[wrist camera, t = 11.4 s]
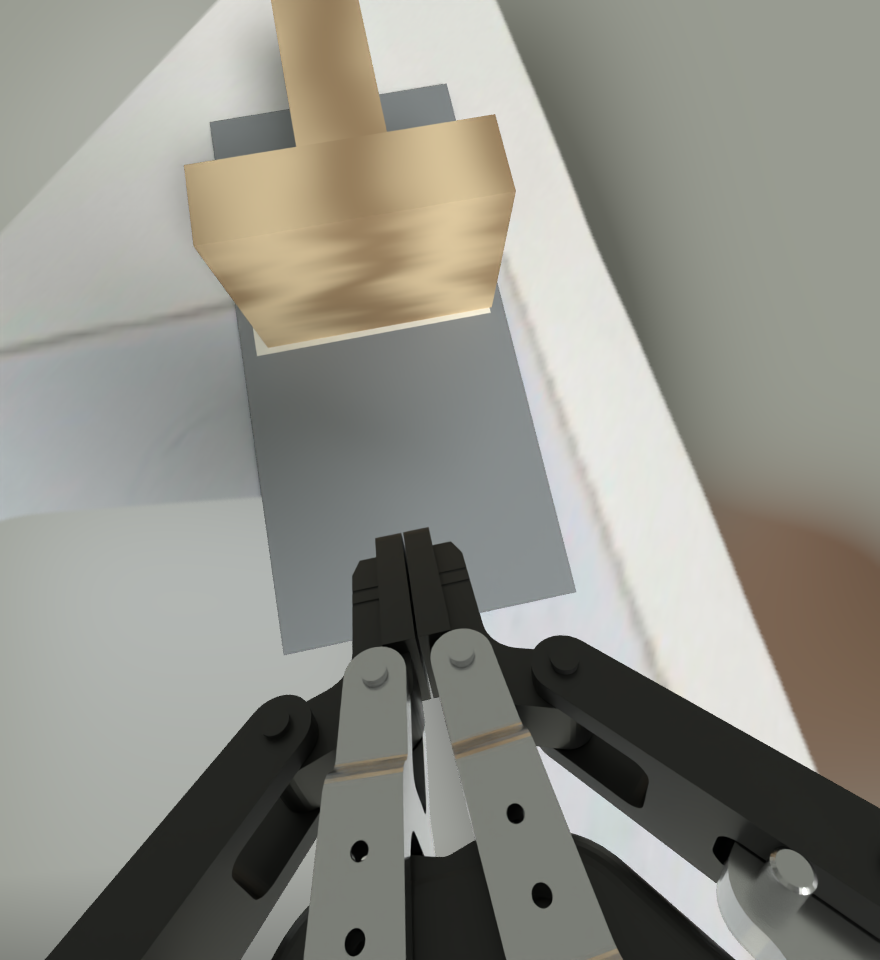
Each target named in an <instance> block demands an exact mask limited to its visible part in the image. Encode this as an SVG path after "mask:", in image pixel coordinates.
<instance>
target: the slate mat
mask: <svg viewBox="0 0 880 960" xmlns="http://www.w3.org/2000/svg"><path fill="white" fill-rule="evenodd" d="M379 97H380V102H381V106H382V111H383V116H384V120H385V125H386V130H387V132H390V131H396V130H402V129H408V128H414V127H421V126H427V125H433V124H439V123H445V122H451V121H456V119H455V115H454V111H453V107H452V103H451V99H450V95H449V91H448V88H447V84H441V85H435V86H429V87H423V88H417V89H410V90H404V91H398V92H392V93H386V94H380V95H379ZM210 127H211V134H212V141H213V148H214V156H215V160H219V159H225V158H231V157H237V156H243V155H249V154H255V153H261V152H268V151H274V150H280V149H286V148H292V147H296V142H295V136H294V131H293V125H292V119H291V113H290V109H288V110H282V111H276V112H269V113H263V114H257V115H251V116H245V117H239V118H233V119H226V120H220V121H214V122H210ZM235 307H236V314H237V321H238V329H239V336H240V343H241V350H242V357H243V365H244V372H245V379H246V386H247V393H248V401H249V408H250V415H251V422H252V429H253V437H254V444H255V451H256V458H257V465H258V473H259V480H260V487H261V494H262V502H263V508H264V516H265V523H266V530H267V537H268V545H269V552H270V559H271V566H272V574H273V581H274V588H275V595H276V602H277V610H278V617H279V624H280V631H281V638H282V646H283V653H284V655H287V654H292V653H297V652H301V651H306V650H310V649H315V648H320V647H325V646H329V645H334V644H338V643H343V642H347V641H352V607H353V605H352V594H353V593H352V575H353V573H354V571H355V569H356V567H357V565H358V563H359V561H360V560H365V559H370V558H374V557H376V547H375V538H378V537H383V536H388V535H392V534H397V533H401V534H402V537H403V541H404V535H403V532H406V531H411V530H416V529H421V528H425V527H429V531H430V536H431V540H432V545H435V544H440V543H445V542H450V541H451V542H452V543H453V544H454V545H455V546H456V547H457V548H458V549H459V550H460V551H461V552H462V553H463V557H464V560H465V564H466V568H467V571H468V574H469V578H470V582H471V585H472V588H473V592H474V595H475V599H476V602H477V606H478V609H479V613H482V612H486V611H491V610H496V609H500V608H505V607H510V606H514V605H519V604H523V603H528V602H533V601H537V600H542V599H547V598H551V597H556V596H560V595H565V594H570V593H574V592H576V589H575V585H574V581H573V577H572V573H571V569H570V565H569V562H568V558H567V554H566V550H565V546H564V542H563V538H562V534H561V530H560V526H559V522H558V518H557V515H556V511H555V507H554V503H553V499H552V495H551V491H550V487H549V483H548V479H547V475H546V471H545V468H544V464H543V460H542V456H541V452H540V448H539V444H538V440H537V436H536V432H535V428H534V424H533V420H532V417H531V413H530V409H529V405H528V401H527V397H526V393H525V389H524V385H523V381H522V377H521V373H520V370H519V366H518V362H517V358H516V354H515V350H514V346H513V342H512V338H511V334H510V330H509V326H508V323H507V319H506V315H505V311H504V307H503V303H502V299H501V295H500V291H499V287H498V283H497V284H496V289H495V294H494V299H493V304H492V307H490V308H484V309H479V310H473V311H468V312H462V313H457V314H452V315H446V316H441V317H435V318H430V319H424V320H419V321H413V322H408V323H402V324H397V325H391V326H386V327H380V328H375V329H369V330H364V331H358V332H353V333H347V334H342V335H336V336H331V337H325V338H320V339H314V340H309V341H303V342H298V343H292V344H287V345H281V346H276V347H270V348H268V347H267V346H266V344H265V343H264V342H263V340H262V339H261V338H260V336H259V335H258V333H257V332H256V331H255V329H254V328H253V327H252V325H251V324H250V322H249V321H248V320H247V318H246V317H245V316H244V314H243V313H242V312H241V310H240V309H239V307H238V306H237V305H236V303H235ZM404 545H405V542H404Z"/></svg>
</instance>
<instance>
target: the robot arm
mask: <svg viewBox="0 0 880 960" xmlns="http://www.w3.org/2000/svg"><path fill="white" fill-rule="evenodd" d="M403 535H404V541H403V537H402V534H401V533H397V534H392V535H388V536H383V537H378V538H375V547H376V557H374V558H370V559H365V560H360V561H359V563H358V565H357V567H356V569H355V571H354V573H353V575H352V593H353V594H352V605H353V607H352V641H353V642H352V644H353V646H352V647H353V654H352V661H351V662H350V663H349V665H348V666H347V668H346V671H345V674H344V676H343V678H342V679H341V680H340V681H339V682H338V683H337V684H335V685H334V686H333V687H332V688H330V689H328V690H327V691H325V692H323V693H322V694H320V695H318V696H316V697H314V698H312V699H310V700H309V701H307V702H306V701H305V700H303V699H302V698H301V697H298V696H295V695H283V696H279V697H276V698H274V699H271V700H269V701H268V702H266V703H265V704H263V705H262V706H261V707H260V708H258V709H257V711H256V712H255V713H254V714H253V715H252V716H251V717H250V718H249V720H248V721H247V722H246V723H245V724H244V726H243V727H242V728H241V729H240V730H239V731H238V733H237V734H236V735H235V736H234V737H233V739H232V740H231V741H230V742H229V743H228V744H227V746H226V747H225V748H224V749H223V750H222V752H221V753H220V754H219V755H218V756H217V758H216V759H215V760H214V761H213V762H212V763H211V764H210V766H209V767H208V768H207V769H206V771H205V772H204V773H203V774H202V775H201V776H200V777H199V779H198V780H197V781H196V782H195V783H194V785H193V786H192V787H191V788H190V789H189V790H188V792H187V793H186V794H185V795H184V796H183V798H182V799H181V800H180V801H179V802H178V803H177V805H176V806H175V807H174V808H173V809H172V811H171V812H170V813H169V814H168V815H167V816H166V818H165V819H164V820H163V821H162V822H161V823H160V825H159V826H158V827H157V828H156V829H155V831H154V832H153V833H152V834H151V835H150V836H149V838H148V839H147V840H146V841H145V842H144V843H143V845H142V846H141V847H140V848H139V849H138V850H137V852H136V853H135V854H134V855H133V856H132V858H131V859H130V860H129V861H128V862H127V863H126V865H125V866H124V867H123V868H122V869H121V871H120V872H119V873H118V874H117V875H116V876H115V878H114V879H113V880H112V881H111V882H110V883H109V885H108V886H107V887H106V888H105V889H104V891H103V892H102V893H101V894H100V895H99V897H98V898H97V899H96V900H95V901H94V902H93V904H92V905H91V906H90V907H89V908H88V909H87V911H86V912H85V913H84V914H83V915H82V917H81V918H80V919H79V920H78V921H77V922H76V924H75V925H74V926H73V927H72V928H71V929H70V931H69V932H68V933H67V934H66V935H65V937H64V938H63V939H62V940H61V941H60V943H59V944H58V945H57V946H56V947H55V948H54V950H53V951H52V952H51V953H50V954H49V956H48V957H47V958H46V959H45V960H241V958H242V957H243V955H244V953H245V952H246V950H247V949H248V947H249V945H250V944H251V942H252V941H253V939H254V937H255V936H256V934H257V933H258V931H259V929H260V928H261V926H262V924H263V923H264V921H265V920H266V918H267V917H268V915H269V913H270V912H271V910H272V909H273V907H274V905H275V904H276V902H277V901H278V899H279V897H280V896H281V894H282V892H283V891H284V889H285V888H286V886H287V885H288V883H289V881H290V880H291V878H292V876H293V875H294V873H295V872H296V870H297V869H298V867H299V865H300V864H301V862H302V860H303V859H304V857H305V856H306V854H307V853H308V851H309V849H310V848H311V846H312V845H313V843H314V841H315V840H316V838H317V845H316V853H315V861H314V870H313V879H312V888H311V897H310V905H309V906H308V907H307V908H306V909H305V910H304V912H303V913H302V914H301V915H300V916H299V918H298V919H297V920H296V921H295V922H294V924H293V925H292V927H291V928H290V929H289V931H288V932H287V934H286V935H285V937H284V938H283V940H282V942H281V943H280V945H279V947H278V949H277V950H276V952H275V954H274V956H273V958H272V959H271V960H735V959H734V958H733V957H732V956H730V955H729V954H728V953H727V952H726V951H725V950H724V949H722V948H721V947H720V946H719V945H718V944H717V943H716V942H714V941H713V940H712V939H711V938H710V937H709V936H708V935H706V934H705V933H704V932H703V931H702V930H701V929H700V928H698V927H697V926H696V925H695V924H694V923H693V922H692V921H690V920H689V919H688V918H687V917H686V916H685V915H684V914H682V913H681V912H680V911H679V910H678V909H677V908H676V907H674V906H673V905H672V904H671V903H670V902H669V901H668V900H666V899H665V898H664V897H663V896H662V895H661V894H660V893H658V892H657V891H656V890H655V889H654V888H653V887H652V886H651V885H649V884H648V883H647V882H646V881H645V880H644V879H643V878H641V877H640V876H639V875H638V874H637V873H636V872H635V871H633V870H632V869H631V868H630V867H629V866H628V865H627V864H625V863H624V862H623V861H622V860H621V859H619V858H618V857H617V856H616V855H614V854H613V853H611V852H610V851H609V850H607V849H606V848H604V847H603V846H601V845H599V844H597V843H595V842H593V841H591V840H589V839H587V838H584V837H582V836H579V835H576V834H572V833H570V830H569V828H568V825H567V823H566V820H565V818H564V815H563V813H562V810H561V808H560V805H559V803H558V800H557V798H556V795H555V793H554V790H553V788H552V785H551V783H550V780H549V778H548V775H547V773H546V770H545V768H544V765H543V763H542V760H541V758H540V755H539V753H538V750H537V747H536V746H540V748H541V749H542V750H543V751H544V752H545V753H546V754H547V755H548V756H549V757H551V758H552V759H553V760H555V761H556V762H557V763H559V764H560V765H561V766H563V767H564V768H565V769H567V770H568V771H569V772H571V773H572V774H573V775H574V776H576V777H577V778H578V779H580V780H581V781H582V782H584V783H585V784H586V785H588V786H589V787H590V788H592V789H593V790H594V791H596V792H597V793H598V794H599V795H601V796H602V797H603V798H605V799H606V800H607V801H609V802H610V803H611V804H613V805H614V806H615V807H617V808H618V809H619V810H621V811H622V812H623V813H625V814H626V815H627V816H628V817H630V818H631V819H632V820H634V821H635V822H636V823H638V824H639V825H640V826H642V827H643V828H644V829H646V830H647V831H648V832H650V833H651V834H652V835H653V836H655V837H656V838H657V839H659V840H660V841H661V842H663V843H664V844H665V845H667V846H668V847H669V848H671V849H672V850H673V851H675V852H676V853H677V854H679V855H680V856H681V857H682V858H684V859H685V860H686V861H688V862H689V863H690V864H692V865H693V866H694V867H696V868H697V869H698V870H700V871H701V872H702V873H704V874H705V875H706V876H708V877H709V878H710V879H711V880H713V881H714V882H715V883H717V889H716V893H717V901H718V906H719V909H720V912H721V915H722V917H723V919H724V921H725V923H726V925H727V927H728V929H729V930H730V932H731V933H732V935H733V936H734V937H735V938H736V940H737V941H738V942H739V943H740V944H741V945H742V946H743V947H744V948H745V949H746V950H747V951H748V952H749V953H750V954H751V955H752V956H753V957H754V958H755V959H756V960H880V808H878V807H876V806H875V805H873V804H871V803H869V802H868V801H866V800H864V799H862V798H860V797H858V796H856V795H855V794H853V793H851V792H850V791H848V790H846V789H844V788H843V787H841V786H839V785H837V784H835V783H834V782H832V781H830V780H828V779H826V778H825V777H823V776H821V775H820V774H818V773H816V772H814V771H812V770H811V769H809V768H807V767H805V766H803V765H802V764H800V763H798V762H796V761H795V760H793V759H791V758H789V757H787V756H786V755H784V754H782V753H780V752H779V751H777V750H775V749H773V748H771V747H770V746H768V745H766V744H764V743H763V742H761V741H759V740H757V739H755V738H754V737H752V736H750V735H748V734H747V733H745V732H743V731H741V730H739V729H738V728H736V727H734V726H732V725H731V724H729V723H727V722H725V721H723V720H722V719H720V718H718V717H716V716H715V715H713V714H711V713H709V712H707V711H706V710H704V709H702V708H700V707H699V706H697V705H695V704H693V703H691V702H690V701H688V700H686V699H684V698H682V697H681V696H679V695H677V694H675V693H674V692H672V691H670V690H668V689H666V688H665V687H663V686H661V685H659V684H658V683H656V682H654V681H652V680H650V679H649V678H647V677H645V676H643V675H642V674H640V673H638V672H636V671H634V670H633V669H631V668H629V667H627V666H626V665H624V664H622V663H620V662H618V661H617V660H615V659H613V658H611V657H610V656H608V655H606V654H604V653H602V652H601V651H599V650H597V649H595V648H594V647H592V646H590V645H588V644H586V643H585V642H583V641H581V640H579V639H577V638H574V637H571V636H562V635H559V636H552V637H549V638H547V639H544V640H543V641H541V642H540V643H539V644H538V645H537V646H536V647H535V649H523V648H513V647H508V646H505V645H503V644H500V643H498V642H497V641H495V640H494V639H493V638H491V637H490V636H489V634H488V633H487V632H486V630H485V629H484V626H483V623H482V620H481V616H480V613H479V609H478V606H477V602H476V599H475V595H474V592H473V588H472V585H471V582H470V578H469V574H468V571H467V568H466V564H465V560H464V557H463V553H462V552H461V551H460V550H459V549H458V548H457V547H456V546H455V545H454V544H453V543H452V542H451V541H450V542H445V543H440V544H435V545H432V540H431V536H430V531H429V527H425V528H421V529H416V530H411V531H406V532H403ZM404 542H405V545H404ZM427 674H428V675H427ZM428 678H429V681H430V685H431V689H432V693H433V697H434V698H437V697H440V701H441V705H442V709H443V714H444V717H445V722H446V726H447V730H448V734H449V738H450V741H451V746H452V750H453V754H454V757H455V762H456V766H457V770H458V774H459V778H460V781H461V786H462V789H463V793H464V798H465V801H466V805H467V809H468V814H469V817H470V821H471V825H472V830H473V834H474V838H475V841H473V842H471V843H469V844H468V845H466V846H464V847H463V848H461V849H459V850H458V851H456V852H454V853H453V854H451V855H449V856H446V857H435V849H434V841H433V835H432V829H431V821H430V807H429V789H428V773H427V753H426V735H425V729H424V726H425V722H424V713H423V705H422V701H424V700H428V699H431V695H430V689H429V682H428Z"/></svg>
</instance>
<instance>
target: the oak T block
mask: <svg viewBox="0 0 880 960" xmlns="http://www.w3.org/2000/svg"><path fill="white" fill-rule="evenodd" d="M271 3H272V9H273V15H274V21H275V26H276V32H277V38H278V44H279V50H280V55H281V61H282V67H283V73H284V79H285V84H286V90H287V96H288V102H289V107H290V113H291V119H292V125H293V131H294V136H295V142H296V147H292V148H286V149H280V150H274V151H268V152H261V153H255V154H249V155H243V156H237V157H231V158H225V159H219V160H212V161H206V162H200V163H194V164H188V165H184V170H185V178H186V186H187V195H188V203H189V212H190V220H191V228H192V237H193V245H194V247H195V249H196V250H197V251H198V253H199V254H200V256H201V257H202V258H203V260H204V261H205V262H206V264H207V265H208V267H209V268H210V269H211V271H212V272H213V273H214V275H215V276H216V277H217V279H218V280H219V282H220V283H221V284H222V286H223V287H224V288H225V290H226V291H227V292H228V294H229V295H230V297H231V298H232V299H233V301H234V302H235V303H236V305H237V306H238V307H239V309H240V310H241V312H242V313H243V314H244V316H245V317H246V318H247V320H248V321H249V322H250V324H251V325H252V327H253V328H254V329H255V331H256V332H257V333H258V335H259V336H260V338H261V339H262V340H263V342H264V343H265V344H266V346H267V347H268V348H270V347H276V346H281V345H287V344H292V343H298V342H303V341H309V340H314V339H320V338H325V337H331V336H336V335H342V334H347V333H353V332H358V331H364V330H369V329H375V328H380V327H386V326H391V325H397V324H402V323H408V322H413V321H419V320H424V319H430V318H435V317H441V316H446V315H452V314H457V313H462V312H468V311H473V310H479V309H484V308H490V307H492V304H493V299H494V294H495V289H496V284H497V279H498V275H499V270H500V265H501V260H502V255H503V250H504V246H505V241H506V236H507V231H508V226H509V221H510V217H511V212H512V207H513V202H514V197H515V192H516V190H515V186H514V183H513V179H512V175H511V172H510V168H509V164H508V160H507V157H506V153H505V149H504V146H503V142H502V138H501V134H500V131H499V127H498V123H497V120H496V116H495V114H494V115H488V116H482V117H476V118H470V119H463V120H457V121H451V122H445V123H439V124H433V125H427V126H421V127H414V128H408V129H402V130H396V131H390V132H387V130H386V125H385V120H384V116H383V111H382V106H381V102H380V97H379V93H378V88H377V83H376V79H375V74H374V70H373V65H372V60H371V56H370V51H369V46H368V42H367V37H366V33H365V28H364V23H363V19H362V14H361V10H360V5H359V0H271Z"/></svg>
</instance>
